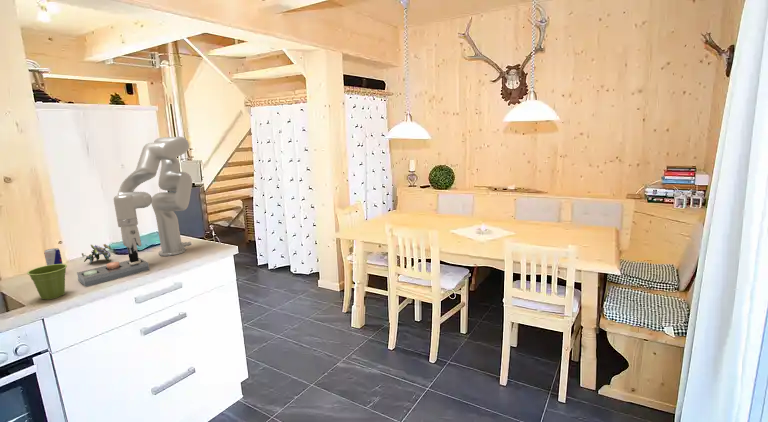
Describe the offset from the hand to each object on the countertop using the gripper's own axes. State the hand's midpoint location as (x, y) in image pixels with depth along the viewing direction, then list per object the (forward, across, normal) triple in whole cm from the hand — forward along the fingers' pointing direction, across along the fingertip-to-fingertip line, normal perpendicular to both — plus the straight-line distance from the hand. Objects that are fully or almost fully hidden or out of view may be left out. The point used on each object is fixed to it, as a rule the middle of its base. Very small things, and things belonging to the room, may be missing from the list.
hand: (134, 261), depth 180 cm
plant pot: (+5, -7, +31) cm, 32 cm away
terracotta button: (+1, 0, +8) cm, 8 cm away
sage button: (+2, 0, +17) cm, 17 cm away
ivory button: (+2, 0, 0) cm, 2 cm away
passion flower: (+4, +28, +8) cm, 30 cm away
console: (+4, 0, +8) cm, 9 cm away
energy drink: (+4, +23, +25) cm, 34 cm away
